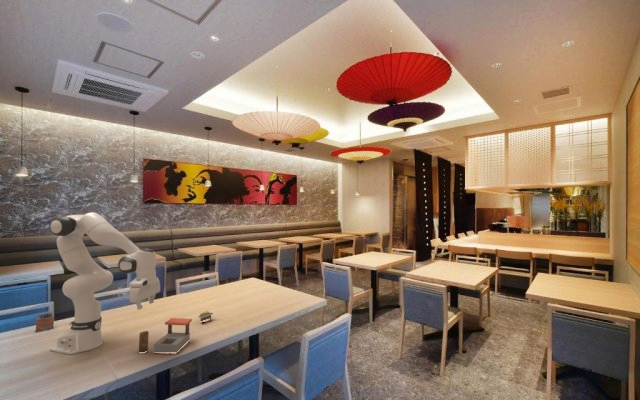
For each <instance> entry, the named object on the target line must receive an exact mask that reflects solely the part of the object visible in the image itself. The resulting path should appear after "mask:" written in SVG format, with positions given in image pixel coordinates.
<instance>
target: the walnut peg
mask: <svg viewBox="0 0 640 400" xmlns="http://www.w3.org/2000/svg"><path fill="white" fill-rule="evenodd" d="M149 333H150V332H149V331H148V330H143V331H140V332H139V338H138V339H139V340H138V353H139V352H145V351H147V350H148V351H149Z"/></svg>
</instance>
